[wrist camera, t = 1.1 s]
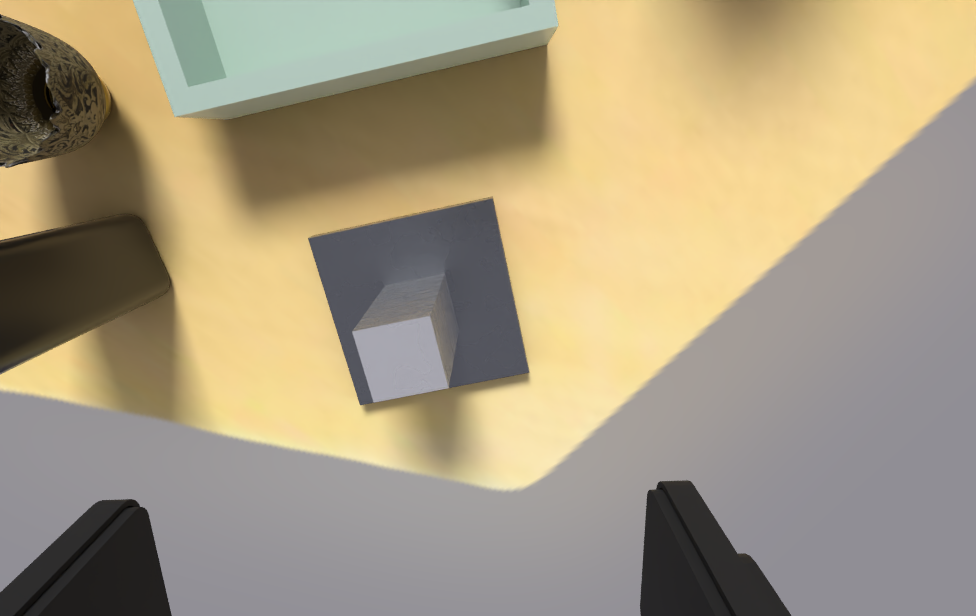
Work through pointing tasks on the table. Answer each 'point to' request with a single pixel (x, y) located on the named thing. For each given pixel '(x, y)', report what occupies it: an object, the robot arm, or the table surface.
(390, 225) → the stud plate
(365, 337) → the strut
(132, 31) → the table surface
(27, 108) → the cup
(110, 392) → the table surface
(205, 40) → the bin
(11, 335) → the wine bottle
